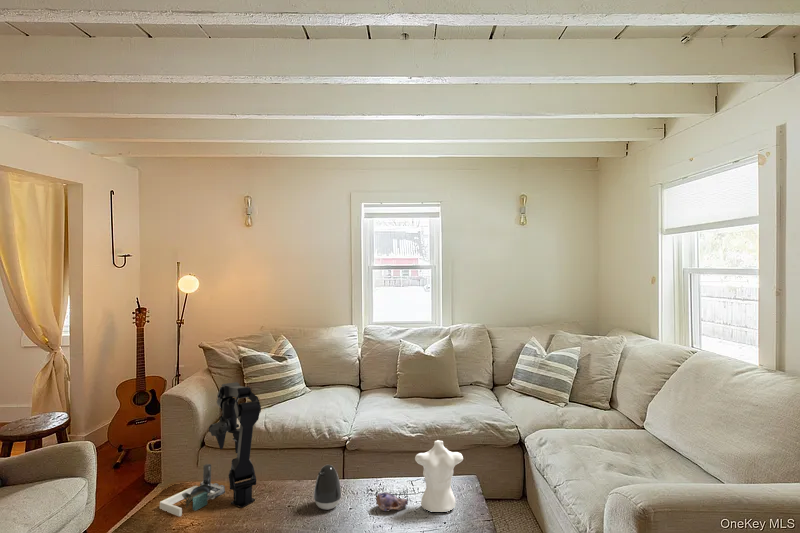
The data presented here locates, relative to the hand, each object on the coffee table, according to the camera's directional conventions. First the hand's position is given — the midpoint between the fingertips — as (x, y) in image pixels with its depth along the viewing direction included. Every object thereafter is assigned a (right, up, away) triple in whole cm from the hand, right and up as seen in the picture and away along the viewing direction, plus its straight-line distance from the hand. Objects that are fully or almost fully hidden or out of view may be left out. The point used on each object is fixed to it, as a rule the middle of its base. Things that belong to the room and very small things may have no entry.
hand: (229, 450), depth 183 cm
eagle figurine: (-5, -13, -18) cm, 22 cm away
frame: (-8, -12, -18) cm, 23 cm away
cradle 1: (-3, -13, -9) cm, 16 cm away
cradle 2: (0, -13, -11) cm, 17 cm away
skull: (+69, -13, -21) cm, 73 cm away
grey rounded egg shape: (+44, -13, -19) cm, 50 cm away
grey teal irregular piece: (-5, -12, -14) cm, 20 cm away
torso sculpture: (+86, -13, -20) cm, 89 cm away
